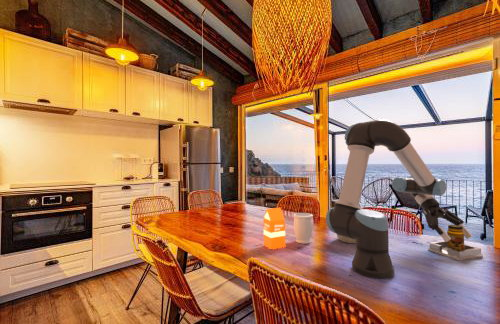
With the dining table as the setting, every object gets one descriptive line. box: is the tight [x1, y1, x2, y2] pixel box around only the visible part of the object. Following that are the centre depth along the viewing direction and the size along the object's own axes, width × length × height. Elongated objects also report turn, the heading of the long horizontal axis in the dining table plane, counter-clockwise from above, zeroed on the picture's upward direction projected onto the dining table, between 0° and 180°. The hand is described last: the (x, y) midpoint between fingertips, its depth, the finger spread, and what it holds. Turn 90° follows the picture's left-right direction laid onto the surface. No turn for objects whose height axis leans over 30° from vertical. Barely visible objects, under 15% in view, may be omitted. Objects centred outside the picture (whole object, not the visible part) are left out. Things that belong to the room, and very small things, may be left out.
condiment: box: [442, 224, 465, 251], centre depth 116 cm, size 7×8×12 cm
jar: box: [293, 212, 314, 245], centre depth 137 cm, size 11×10×15 cm
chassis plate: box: [427, 240, 484, 261], centre depth 116 cm, size 15×14×4 cm
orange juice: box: [263, 207, 286, 250], centre depth 130 cm, size 8×9×20 cm
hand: (459, 239), depth 114 cm, fingers open, 13 cm apart
